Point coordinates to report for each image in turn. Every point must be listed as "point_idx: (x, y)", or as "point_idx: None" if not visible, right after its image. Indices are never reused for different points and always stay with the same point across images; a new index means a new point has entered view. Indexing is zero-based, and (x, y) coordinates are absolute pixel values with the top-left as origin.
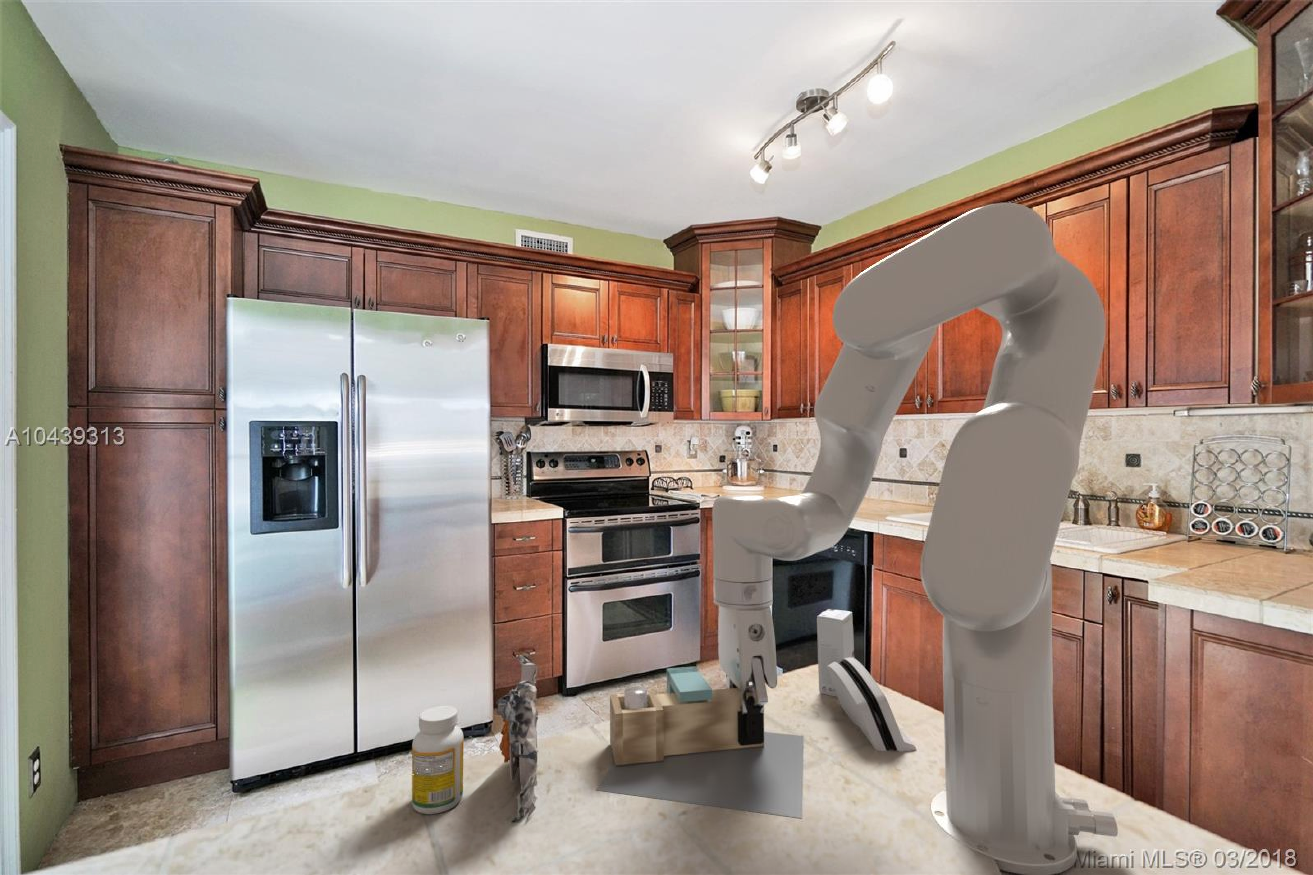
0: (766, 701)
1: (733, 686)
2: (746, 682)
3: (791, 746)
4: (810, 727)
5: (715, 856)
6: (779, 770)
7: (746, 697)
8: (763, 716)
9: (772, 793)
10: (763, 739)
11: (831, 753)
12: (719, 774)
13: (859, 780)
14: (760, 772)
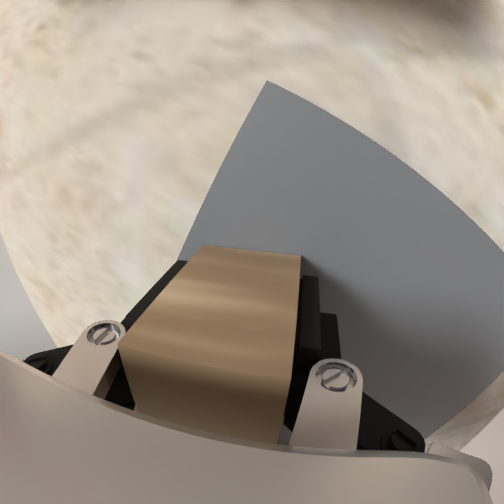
0: (483, 468)
1: (115, 403)
2: (108, 387)
3: (331, 163)
4: (162, 24)
5: (492, 411)
6: (441, 279)
7: (262, 437)
8: (295, 312)
9: (490, 332)
10: (318, 280)
11: (343, 32)
12: (379, 399)
13: (485, 68)
14: (421, 326)
